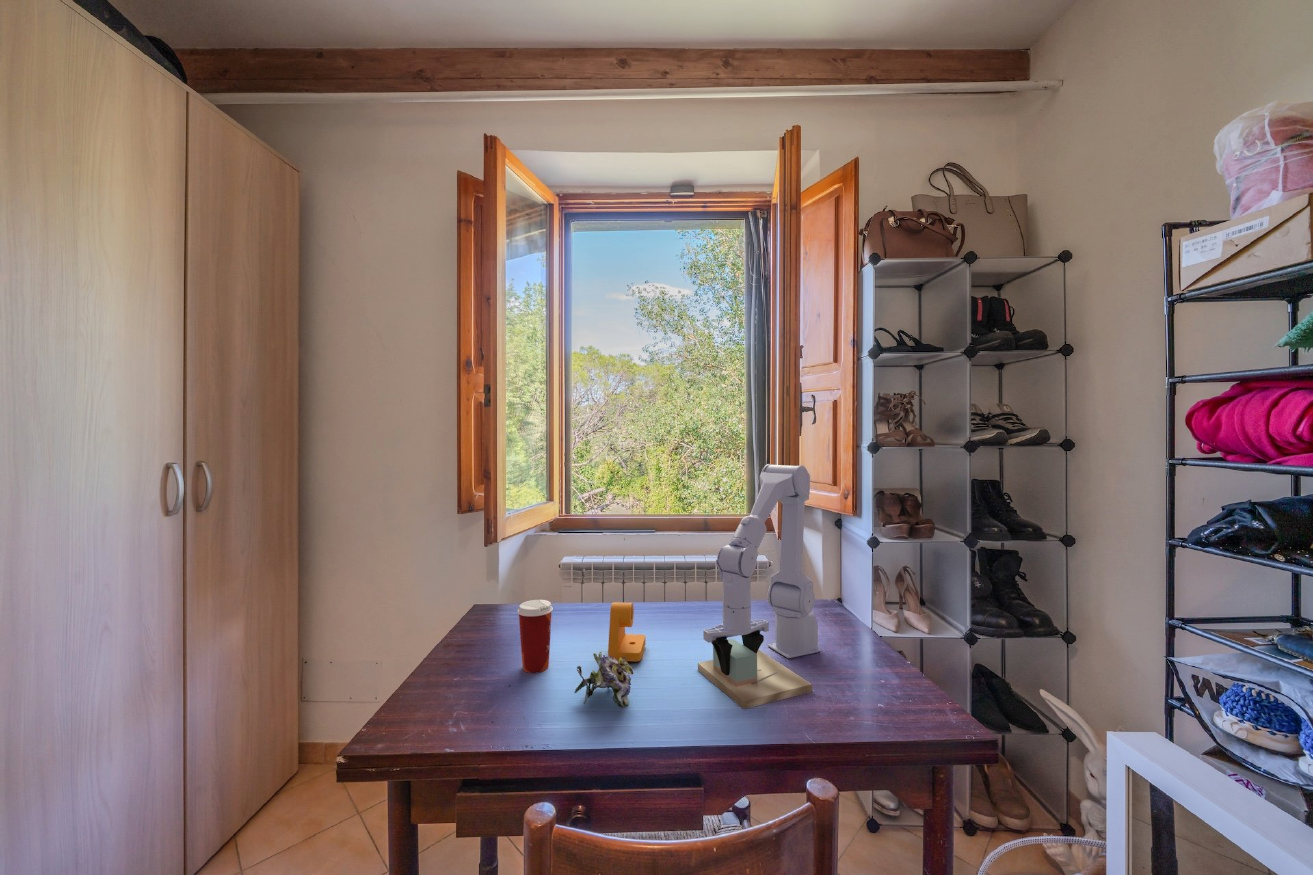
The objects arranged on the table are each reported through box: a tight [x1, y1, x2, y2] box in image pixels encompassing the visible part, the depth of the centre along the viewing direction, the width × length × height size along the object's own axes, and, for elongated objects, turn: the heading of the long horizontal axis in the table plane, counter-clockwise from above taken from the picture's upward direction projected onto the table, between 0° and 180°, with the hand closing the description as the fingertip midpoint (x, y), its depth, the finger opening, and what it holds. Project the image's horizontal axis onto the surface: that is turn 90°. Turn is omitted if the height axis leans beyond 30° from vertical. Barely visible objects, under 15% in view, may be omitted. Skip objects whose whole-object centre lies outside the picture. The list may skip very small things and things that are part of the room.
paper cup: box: [517, 599, 554, 674], centre depth 116 cm, size 8×8×14 cm
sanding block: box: [712, 638, 757, 686], centre depth 109 cm, size 5×9×6 cm, turn 24°
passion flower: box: [574, 651, 634, 709], centre depth 101 cm, size 11×11×12 cm
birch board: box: [697, 649, 813, 710], centre depth 110 cm, size 16×18×2 cm
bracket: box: [607, 601, 647, 662], centre depth 123 cm, size 11×7×12 cm, turn 174°
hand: (736, 670), depth 108 cm, fingers closed on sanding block, 5 cm apart
